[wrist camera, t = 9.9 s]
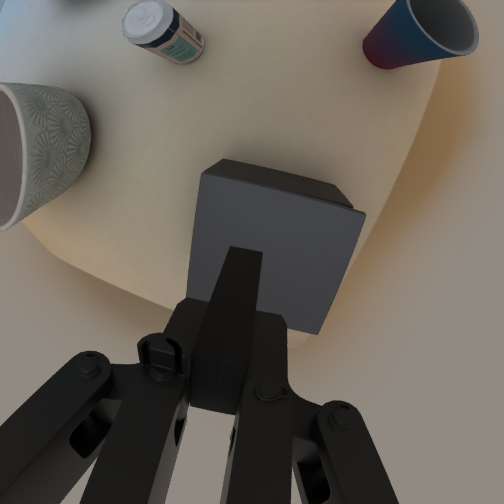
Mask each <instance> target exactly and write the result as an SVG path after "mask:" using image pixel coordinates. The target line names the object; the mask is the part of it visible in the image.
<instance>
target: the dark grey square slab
mask: <svg viewBox="0 0 504 504" xmlns="http://www.w3.org/2000/svg"><path fill="white" fill-rule="evenodd" d="M365 218H366V214H365V213H364V212H362V211H359V210H355V209H352V208H349V207H345V206H342V205H339V204H335V203H332V202H328V201H325V200H321V199H318V198H314V197H310V196H307V195H303V194H299V193H295V192H292V191H288V190H284V189H280V188H276V187H272V186H268V185H264V184H259V183H255V182H251V181H247V180H242V179H238V178H233V177H229V176H224V175H219V174H215V173H210V172H203V173H201V180H200V186H199V193H198V199H197V206H196V213H195V221H194V229H193V236H192V245H191V253H190V262H189V271H188V281H187V292H186V297H189V298H193V299H198V300H202V301H207V302H209V301H210V299H211V296H212V293H213V290H214V288H215V285H216V282H217V279H218V277H219V274H220V271H221V269H222V266H223V263H224V260H225V258H226V255H227V252H228V250H229V247H230V246H234V247H239V248H245V249H250V250H255V251H261V252H263V257H262V265H261V273H260V282H259V290H258V298H257V306H256V310H258V311H263V312H269V313H275V314H281V315H282V317H283V318H284V320H285V322H286V324H287V328H288V329H293V330H297V331H302V332H306V333H311V334H315V335H318V333H319V331H320V329H321V327H322V325H323V322H324V320H325V318H326V316H327V313H328V311H329V309H330V307H331V305H332V302H333V300H334V298H335V295H336V293H337V291H338V288H339V286H340V284H341V281H342V279H343V276H344V274H345V271H346V269H347V266H348V264H349V261H350V259H351V256H352V253H353V251H354V248H355V246H356V243H357V240H358V237H359V235H360V232H361V229H362V226H363V223H364V221H365Z"/></svg>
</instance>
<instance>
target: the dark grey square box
mask: <svg viewBox="0 0 504 504" xmlns="http://www.w3.org/2000/svg"><path fill="white" fill-rule="evenodd" d="M204 172H210V173H215V174H219V175H224V176H229V177H233V178H238V179H242V180H247V181H251V182H255V183H259V184H264V185H268V186H272V187H276V188H280V189H284V190H288V191H292V192H295V193H299V194H303V195H307V196H310V197H314V198H318V199H321V200H325V201H328V202H332V203H335V204H339V205H342V206H345V207H349V208H352V209H353V205H352V204H351V203H350V202H349V201H348V199H347V198H346V197H345V196H344V195H343V194H342V192H341V191H340V190H339V189H338V188H337V187H336V186H335V185H333V184H329V183H325V182H322V181H318V180H314V179H311V178H307V177H303V176H299V175H295V174H291V173H287V172H283V171H278V170H274V169H270V168H265V167H261V166H256V165H252V164H247V163H242V162H237V161H232V160H227V159H222V160H220V161H219V162H217V163H216V164H214V165H213V166H211V167H210V168H208V169H207V170H205V171H204Z"/></svg>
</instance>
